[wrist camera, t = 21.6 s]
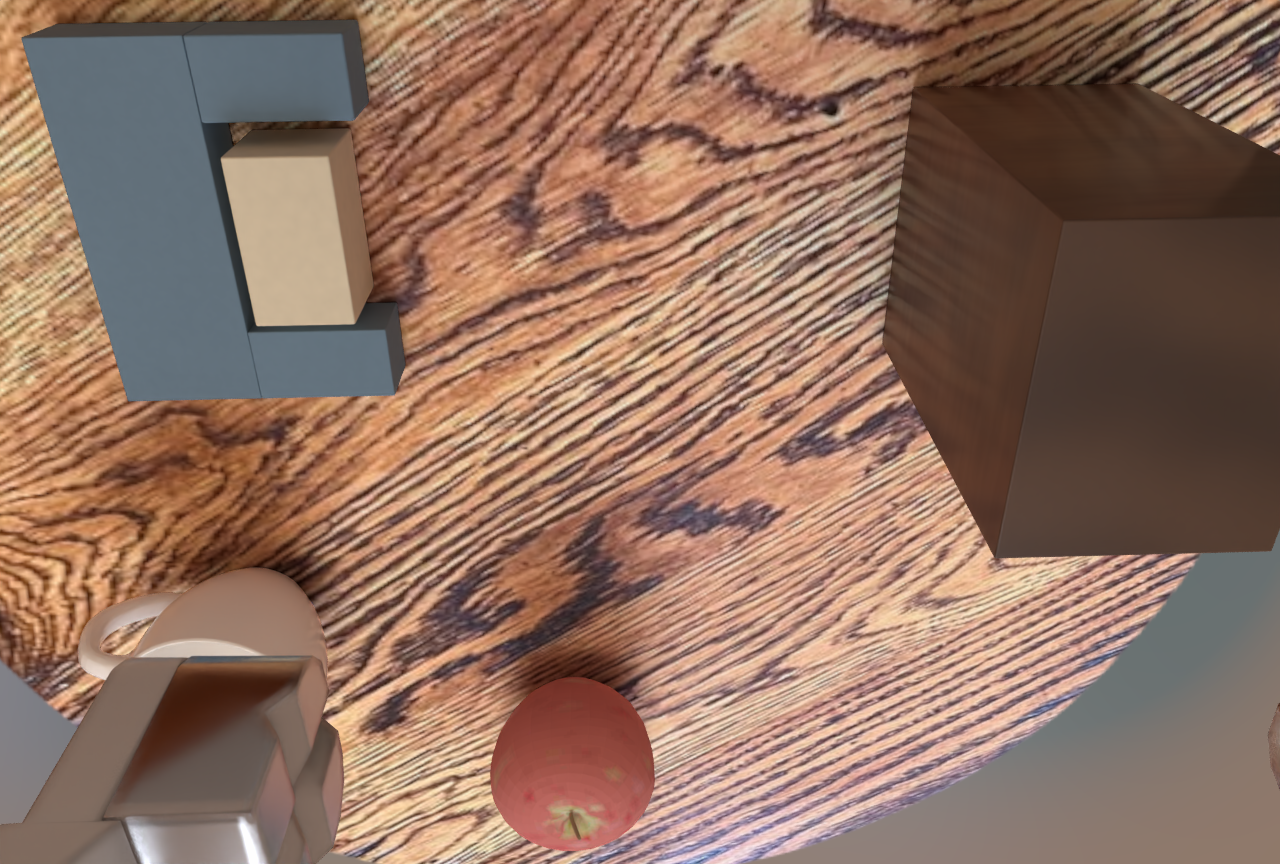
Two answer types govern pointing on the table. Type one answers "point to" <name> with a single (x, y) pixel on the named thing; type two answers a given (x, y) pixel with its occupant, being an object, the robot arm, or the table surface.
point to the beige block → (300, 225)
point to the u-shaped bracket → (198, 199)
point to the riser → (1092, 318)
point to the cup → (213, 622)
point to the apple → (572, 766)
